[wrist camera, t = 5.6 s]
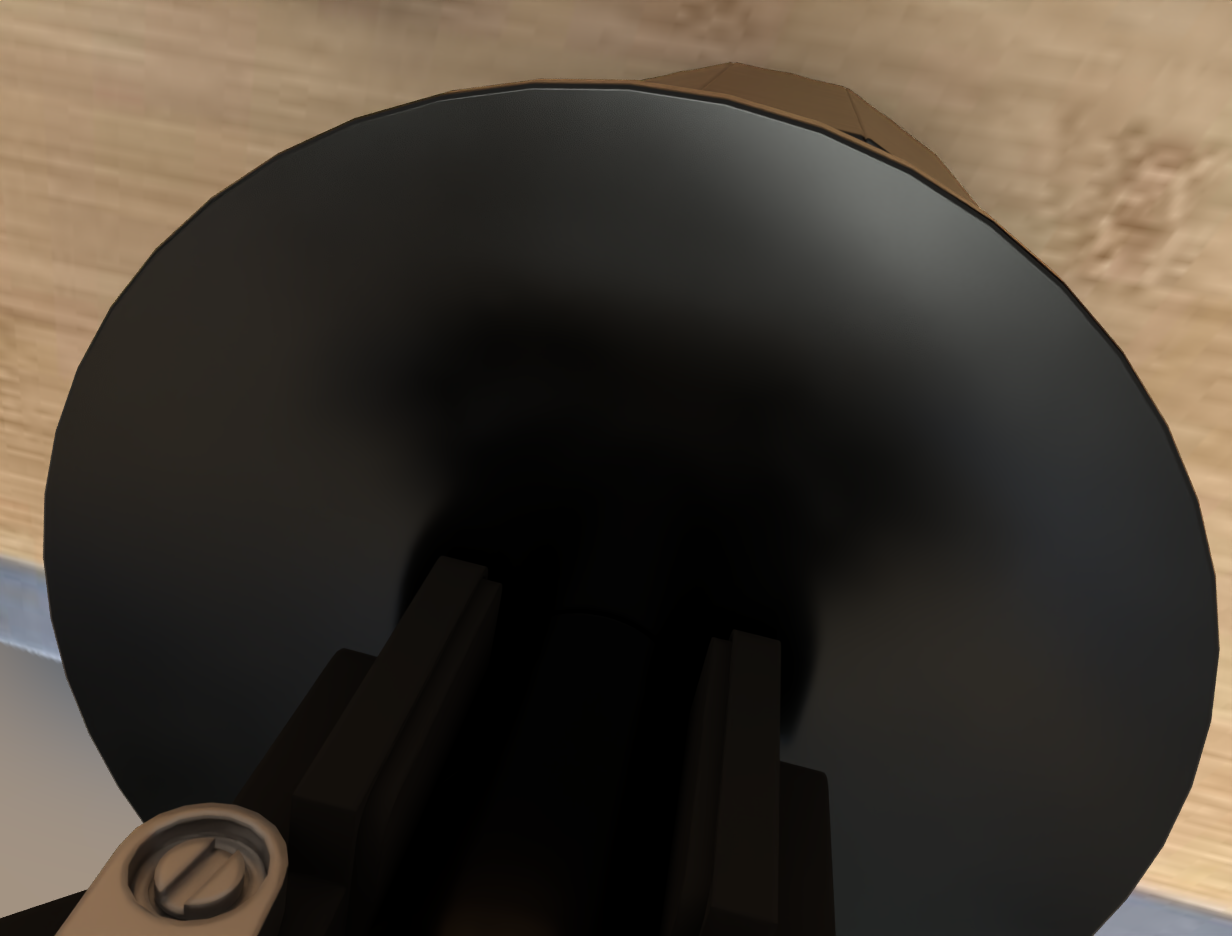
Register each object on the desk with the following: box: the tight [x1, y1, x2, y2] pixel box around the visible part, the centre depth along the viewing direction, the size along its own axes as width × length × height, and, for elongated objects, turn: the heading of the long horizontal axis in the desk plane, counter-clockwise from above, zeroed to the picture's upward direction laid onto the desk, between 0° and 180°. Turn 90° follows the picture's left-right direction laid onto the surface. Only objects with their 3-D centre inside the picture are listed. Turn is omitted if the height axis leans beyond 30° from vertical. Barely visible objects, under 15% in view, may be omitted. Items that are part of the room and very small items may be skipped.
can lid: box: [43, 79, 1220, 936], centre depth 10 cm, size 13×13×6 cm
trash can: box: [639, 62, 979, 208], centre depth 21 cm, size 12×12×10 cm
